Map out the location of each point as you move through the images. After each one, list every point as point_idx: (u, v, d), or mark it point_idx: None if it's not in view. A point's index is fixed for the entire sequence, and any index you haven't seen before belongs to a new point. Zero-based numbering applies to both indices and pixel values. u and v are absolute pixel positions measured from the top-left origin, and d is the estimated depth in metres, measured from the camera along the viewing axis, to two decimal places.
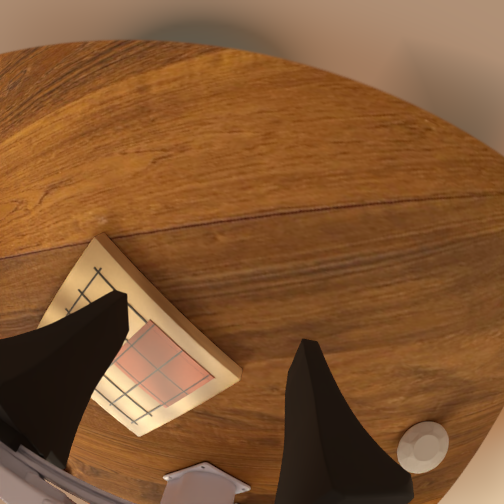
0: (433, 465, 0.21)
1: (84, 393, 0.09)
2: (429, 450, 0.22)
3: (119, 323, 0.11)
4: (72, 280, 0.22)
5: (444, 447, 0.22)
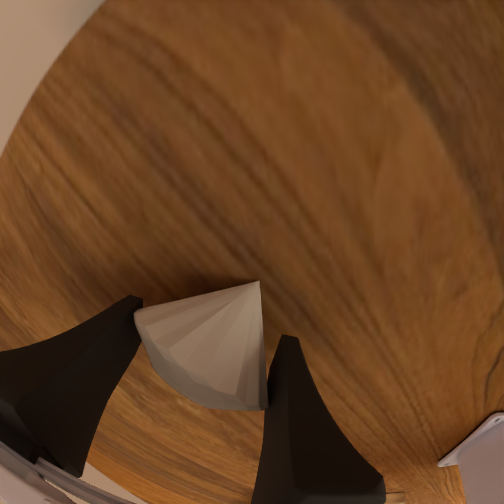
0: (185, 378, 0.08)
1: (101, 400, 0.09)
2: None
3: (135, 328, 0.11)
4: None
5: (142, 341, 0.10)
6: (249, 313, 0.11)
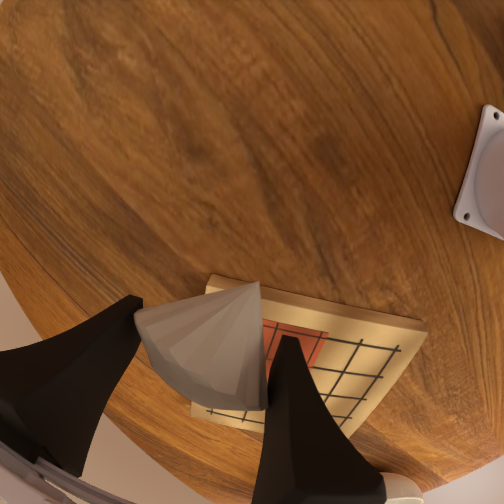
0: (186, 378, 0.08)
1: (100, 400, 0.09)
2: None
3: (134, 328, 0.11)
4: (239, 425, 0.26)
5: None
6: (249, 314, 0.11)
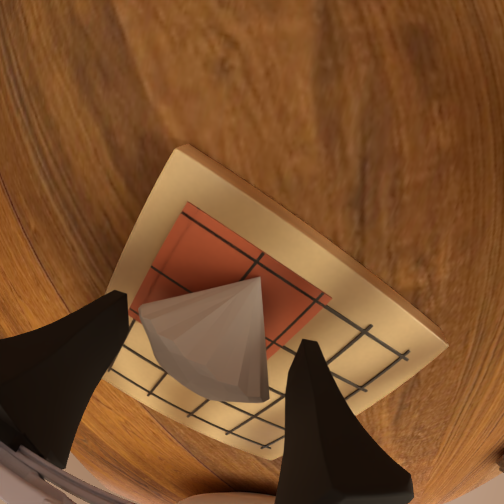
0: (189, 369, 0.09)
1: (84, 393, 0.09)
2: None
3: (119, 323, 0.11)
4: (142, 399, 0.18)
5: (147, 335, 0.10)
6: (251, 308, 0.11)
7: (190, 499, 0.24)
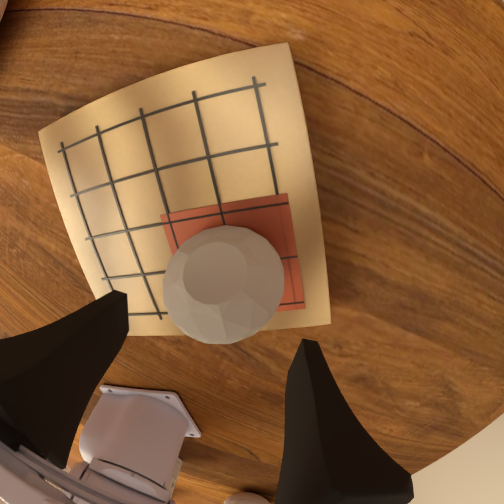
0: (231, 331, 0.13)
1: (84, 393, 0.09)
2: (219, 280, 0.13)
3: (119, 323, 0.11)
4: (192, 74, 0.13)
5: (265, 292, 0.14)
6: None
7: None
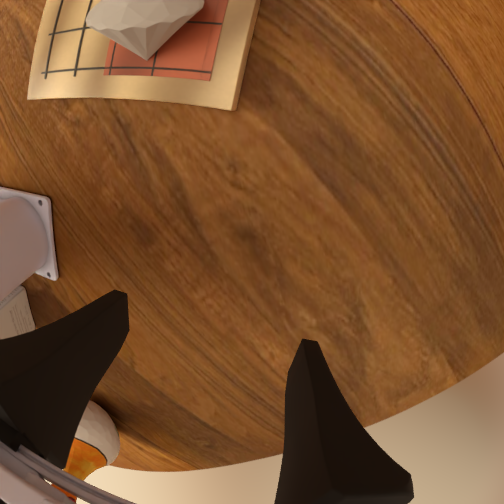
0: (128, 18, 0.09)
1: (84, 393, 0.09)
2: None
3: (119, 323, 0.11)
4: None
5: (176, 3, 0.10)
6: (133, 51, 0.12)
7: None
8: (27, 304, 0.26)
